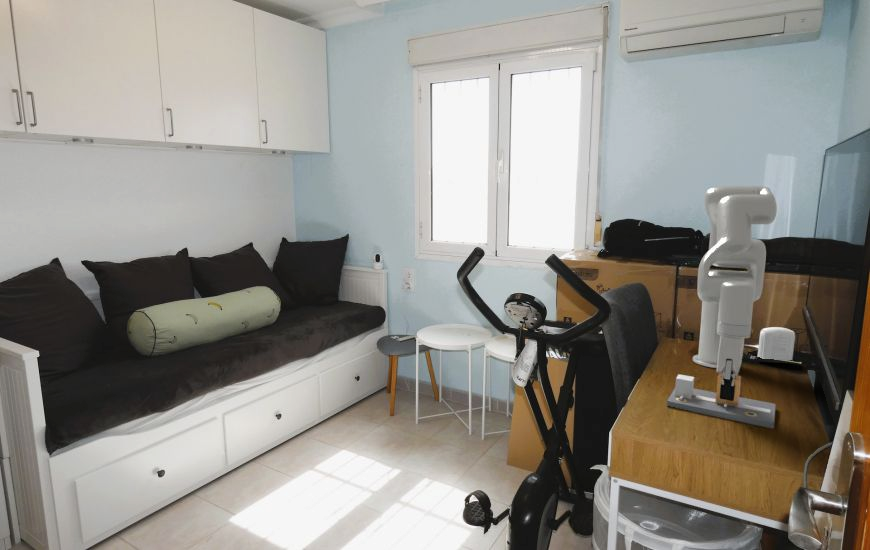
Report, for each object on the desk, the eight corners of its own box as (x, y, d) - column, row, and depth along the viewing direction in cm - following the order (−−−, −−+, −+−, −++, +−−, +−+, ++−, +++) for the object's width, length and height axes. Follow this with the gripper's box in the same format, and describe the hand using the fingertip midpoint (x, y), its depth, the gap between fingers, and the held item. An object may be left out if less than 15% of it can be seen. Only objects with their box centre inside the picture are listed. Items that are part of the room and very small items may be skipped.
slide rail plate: (676, 390, 149) (677, 368, 148) (774, 409, 135) (777, 385, 134) (666, 406, 137) (668, 383, 136) (773, 428, 124) (776, 403, 123)
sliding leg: (717, 397, 138) (719, 372, 137) (738, 401, 135) (741, 376, 134) (714, 405, 132) (716, 380, 131) (736, 410, 130) (738, 383, 129)
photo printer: (787, 361, 175) (791, 326, 173) (794, 365, 170) (798, 329, 168) (754, 360, 176) (758, 325, 174) (760, 364, 172) (764, 328, 170)
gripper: (720, 320, 141) (715, 384, 144) (713, 334, 127) (707, 403, 130) (752, 324, 137) (746, 390, 140) (748, 338, 123) (741, 410, 126)
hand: (727, 395), depth 135 cm, fingers closed on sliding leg, 4 cm apart
